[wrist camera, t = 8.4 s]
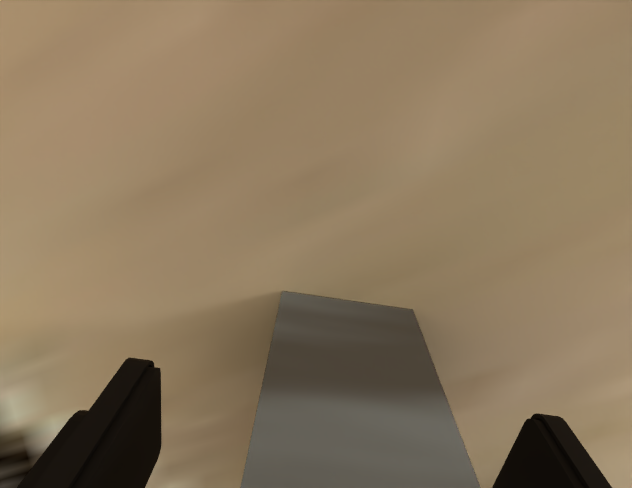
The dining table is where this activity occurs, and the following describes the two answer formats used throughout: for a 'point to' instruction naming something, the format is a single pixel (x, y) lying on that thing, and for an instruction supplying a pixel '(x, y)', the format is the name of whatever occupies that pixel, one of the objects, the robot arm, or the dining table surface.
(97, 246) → the dining table surface
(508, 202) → the dining table surface
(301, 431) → the grey block with handle
